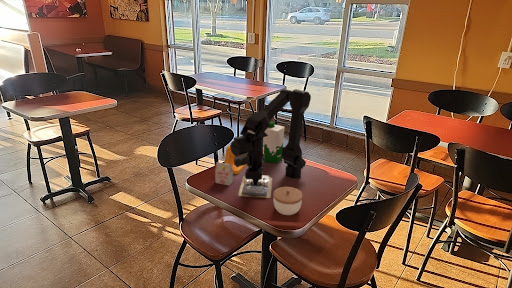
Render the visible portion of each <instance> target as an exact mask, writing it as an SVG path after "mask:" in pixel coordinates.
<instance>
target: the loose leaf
mask: <svg viewBox="0 0 512 288" xmlns="http://www.w3.org/2000/svg"><path fill="white" fill-rule="evenodd" d="M250 185H251V186H250ZM250 185H244V186H243V190H242V194H250V195H267V190H268V186H262V182H261V181H258V183H257V185H254V183H253V181H251V183H250Z"/></svg>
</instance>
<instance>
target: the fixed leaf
mask: <svg viewBox="0 0 512 288" xmlns="http://www.w3.org/2000/svg"><path fill="white" fill-rule="evenodd" d="M269 178H270V175H265V174H264V175H263V174H262V179H261V180H259V181H261V182H262V186H268V182H269ZM251 181H253V180H252V179H245V180H244V185H250V183H251Z"/></svg>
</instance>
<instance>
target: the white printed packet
mask: <svg viewBox="0 0 512 288" xmlns="http://www.w3.org/2000/svg"><path fill="white" fill-rule="evenodd" d="M214 183H215V184H221V185H225V186H231V185H232V183H234V174H233V170H232V167H231V164H225V162H224V163H223V162H218V161H217V162H216V163H215V169H214Z"/></svg>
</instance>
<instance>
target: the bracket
mask: <svg viewBox="0 0 512 288" xmlns="http://www.w3.org/2000/svg"><path fill="white" fill-rule="evenodd" d="M230 145H231V144H228V145H227V147H226V150H225V154H224V155H225V156H224V163H225V164H231V167H232V170H233V175H240V173H241V172H242V171H243V170H244V169H246V167H248V166H247V164H245V165H242V166H239V167H236V165H234V157H235V155H233V153H232V152H231V149H230Z"/></svg>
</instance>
